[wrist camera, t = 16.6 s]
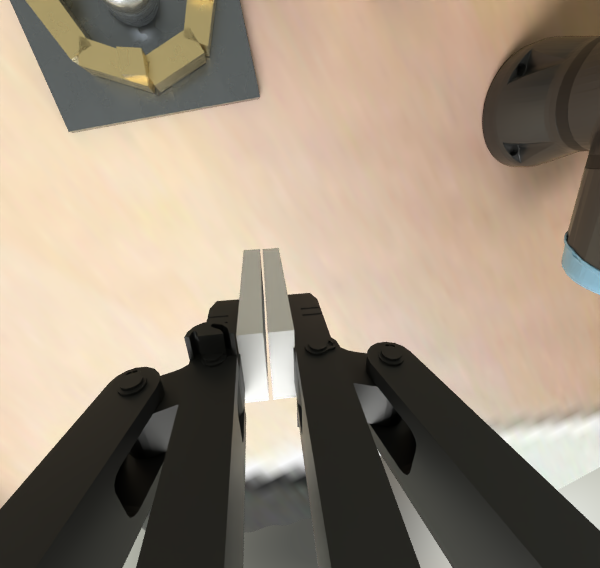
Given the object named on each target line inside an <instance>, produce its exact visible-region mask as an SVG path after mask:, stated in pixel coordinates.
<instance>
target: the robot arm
mask: <svg viewBox="0 0 600 568" xmlns="http://www.w3.org/2000/svg"><path fill="white" fill-rule="evenodd" d="M483 133H484V138H485V142H486V144H487V147H488V149H489V151H490V152H491V154H492V155H493V156H494V157H495V159H497V160H498V161H499V162H501V163H502V164H504V165H507V166H511V167H531V166H537V165H541V164H544V163H547V162H550V161H553V160H555V159H558V158H561V157H564V156H567V155H570V154H573V153H576V152H579V151H589V155H588V159H587V163H586V166H585V169H584V173H583V177H582V180H581V184H580V188H579V192H578V195H577V199H576V203H575V206H574V210H573V214H572V218H571V221H570V225H569V229H568V231H567V232H566V233H565V236H564V243H565V246H564V251H563V256H562V267H563V268H564V270H565V272H566V274H567V275H568V276H569V277H570V278H571V279H572V280H573V281H574V282H576V283H577V284H579V285H580V286H582V287H584V288H586V289H588V290H590V291H592V292H594V293H597V294H599V295H600V36H557V37H550V38H546V39H543V40H541V41H538V42H535V43H533V44H530V45H528V46H526V47H524V48H522V49H520V50H519V51H517V52H516V53H515V54H514V55H512V56H511V57H510V58H509V59H508V60H507V61H506V62H505V64H504V65H503V66H502V67H501V69H500V70H499V72H498V73H497V75H496V76H495V78H494V80H493V82H492V84H491V86H490V89H489V91H488V94H487V97H486V101H485V105H484V111H483ZM263 262H264V278H265V294H266V310H267V326H268V340H269V353H270V365H271V378H272V391H273V400H275V399H283V398H292V397H296V396H297V421H298V427H299V428H300V435H301V443H302V450H303V457H304V465H305V472H306V480H307V487H308V494H309V502H310V509H311V517H312V524H313V531H314V539H315V546H316V554H317V561H318V568H420V565H419V562H418V560H417V557H416V554H415V551H414V549H413V546H412V543H411V541H410V538H409V535H408V532H407V530H406V527H405V524H404V522H403V519H402V516H401V513H400V510H399V508H398V505H397V502H396V500H395V497H394V494H393V492H392V489H391V486H390V483H389V480H388V477H387V475H386V472H385V469H384V466H383V464H382V461H381V458H380V456H379V453H378V451H379V452H380V454H381V456H382V457H383V459H384V460H385V461H386V463H387V465H388V466H389V468H390V470H391V471H392V473H393V474H394V476H395V478H396V479H397V481H398V482H399V484H400V485H401V487H402V489H403V490H404V492H405V493H406V495H407V497H408V498H409V500H410V501H411V503H412V504H413V506H414V508H415V509H416V511H417V512H418V514H419V515H420V517H421V519H422V520H423V521H424V523H425V525H426V526H427V528H428V529H429V531H430V533H431V534H432V536H433V537H434V539H435V540H436V542H437V544H438V545H439V547H440V548H441V550H442V551H443V553H444V555H445V556H446V558H447V559H448V561H449V563H450V564H451V566H452V567H453V568H600V531H599V530H598V529H597V528H596V527H595V526H594V525H593V524H592V523H591V522H590V521H589V520H588V519H587V518H586V517H585V516H583V514H581V513H580V512H579V511H578V510H577V509H576V508H575V507H574V506H573V505H572V504H571V503H570V502H569V501H568V500H567V499H566V498H564V496H562V495H561V494H560V493H559V492H558V491H557V490H556V489H555V488H554V487H553V486H552V485H551V484H550V483H549V482H548V481H547V480H546V479H544V478H543V477H542V476H541V475H540V474H539V473H538V472H537V471H536V470H535V469H534V468H533V467H532V466H531V465H530V464H529V463H528V462H527V461H525V460H524V459H523V458H522V457H521V456H520V455H519V454H518V453H517V452H516V451H515V450H514V449H513V448H512V447H511V446H510V445H509V444H508V443H506V442H505V441H504V440H503V439H502V438H501V437H500V436H499V435H498V434H497V433H496V432H495V431H494V430H493V429H492V428H491V427H490V426H489V425H487V424H486V423H485V422H484V421H483V420H482V419H481V418H480V417H479V416H478V415H477V414H476V413H475V412H474V411H473V410H472V409H471V408H469V407H468V406H467V405H466V404H465V403H464V402H463V401H462V400H461V399H460V398H459V397H458V396H457V395H456V394H455V393H454V392H453V391H452V390H450V389H449V388H448V387H447V386H446V385H445V384H444V383H443V382H442V381H441V380H440V379H439V378H438V377H437V376H436V375H435V374H434V373H433V372H431V371H430V370H429V369H428V368H427V367H426V366H425V365H424V364H423V363H422V362H421V361H420V360H419V359H418V358H417V357H416V356H415V355H413V354H412V353H411V352H410V351H409V350H408V349H406V348H405V347H403V346H401V345H398V344H396V343H390V342H381V343H376V344H374V345H372V346H371V347H370V348H369V350H368V351H367V353H359V352H353V351H348V350H345V349H343V348H341V347H340V346H339V344H338V343H337V341H336V340H334V339H333V338H331V336H330V334H329V331H328V328H327V325H326V322H325V320H324V317H323V314H322V311H321V308H320V306H319V303H318V300H317V299H316V298H315V297H314V296H313V295H312V294H310V293H304V294H292V295H287V290H286V284H285V279H284V274H283V269H282V263H281V258H280V253H279V248H274V249H263ZM184 338H185V342H186V346H187V351H188V355H189V359H190V362H189V365H187V366H185V367H183V368H182V369H179V370H177V371H174V372H171V373H168V374H165V375H162V376H160V374H159V373H158V372H157V371H156V370H155V369H153V368H149V367H139V368H134V369H131V370H128V371H126V372H124V373H122V374H120V375H118V376H117V377H116V378H114V379H113V380H112V381H111V382H110V383H109V384H108V385H107V386H106V387H105V388H104V390H103V391H102V392H101V393H100V394H99V395H98V397H97V398H96V399H95V400H94V401H93V402H92V404H91V405H90V406H89V407H88V408H87V409H86V410H85V412H84V413H83V414H82V415H81V416H80V417H79V419H78V420H77V421H76V422H75V423H74V424H73V426H72V427H71V428H70V429H69V430H68V431H67V433H66V434H65V435H64V436H63V437H62V438H61V439H60V441H59V442H58V443H57V444H56V445H55V446H54V448H53V449H52V450H51V451H50V452H49V453H48V455H47V456H46V457H45V458H44V459H43V460H42V461H41V463H40V464H39V465H38V466H37V467H36V468H35V470H34V471H33V472H32V473H31V474H30V475H29V477H28V478H27V479H26V480H25V481H24V482H23V483H22V485H21V486H20V487H19V488H18V489H17V490H16V492H15V493H14V494H13V495H12V496H11V497H10V499H9V500H8V501H7V502H6V503H5V504H4V505H3V507H2V508H1V509H0V568H122V567H123V565H124V563H125V561H126V559H127V557H128V555H129V553H130V551H131V548H132V546H133V544H134V542H135V540H136V538H137V536H138V534H139V532H140V530H141V527H142V525H143V523H144V521H145V519H146V517H147V515H148V513H149V511H150V509H151V506H152V509H151V512H150V516H149V520H148V524H147V528H146V532H145V536H144V539H143V543H142V547H141V551H140V555H139V559H138V563H137V566H136V568H243V556H244V552H243V551H244V503H245V448H246V413H245V407H244V404H245V402H246V403H249V402H257V401H266V400H269V389H268V370H267V350H266V330H265V311H264V294H263V282H262V270H261V257H260V249H257V250H244V253H243V264H242V275H241V287H240V298H239V300H226V301H217V302H216V303H215V304H214V305H213V306H212V307H211V308H210V310H209V314H208V319H207V322H205V323H202V324H199V325H197V326H195V327H193V328H192V329H191V330H189V331H188V332H187V334H186V335H185V337H184ZM377 449H378V450H377ZM152 504H153V505H152Z"/></svg>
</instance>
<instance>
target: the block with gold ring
mask: <svg viewBox="0 0 600 568" xmlns="http://www.w3.org/2000/svg"><path fill="white" fill-rule="evenodd" d="M216 1H217V0H187V5H186V14H185V24H184V30H183V31H182V32H180V33H179V34H177V35H176V36H174V37H173V38H171V39H170V40H168V41H167V42H165V43H164V44H162V45H161V46H159V47H158V48H156V49H155V50H153V51H152V52H150V53H149V54H147V55H145V52H144V51H143V50H142V48H134V47H116V48H114V47H111V46H108V45H105V44H102V43H99V42H96V41H93V40H92V39H91V38H90V37H89V35H88V34H87V33H86V31H85V30H84V28H83V27H82V26H81V24H80V23H79V21H78V20H77V19H76V17H75V16H74V15H73V13H72V12H71V10H70V9H69V8H68V6H67V5H66V3H65V2H64V1H63V0H26V2H27V3H28V4H29V6H30V7H31V8H32V10H33V11H34V12H35V13H36V15H37V16H38V17H39V19H40V20H41V21H42V23H43V24H44V25H45V26H46V28H47V29H48V30H49V32H50V33H51V34H52V36H53V37H54V38H55V39H56V41H57V42H58V43H59V45H60V46H61V47H62V49H63V50H64V51H65V52H66V54H67V55H68V56H69V58H70V59H71V60H72V61H74V62H75V63H77V64H78V65H79V66H81V67H82V68H83V69H85V70H86V71H88V72H89V73H91V74H92V75H95V76H98V77H102V78H105V79H108V80H112V81H115V82H118V83H122V84H125V85H128V86H131V87H135V88H138V89H141V90H145V91H148V92H151V93H155V86H156V87H157V89H158V90H159V91H160V92H163V91H164V90H166V89H167V88H169V87H170V86H172V85H173V84H175V83H176V82H178V81H179V80H181V79H182V78H184V77H185V76H187V75H188V74H190V73H191V72H193V71H194V70H196V69H197V68H199V67H200V66H202V65H203V64H205V63H206V59H205V55H206V56H209V57H210V49H211V41H212V33H213V25H214V17H215V9H216Z"/></svg>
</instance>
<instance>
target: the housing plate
mask: <svg viewBox="0 0 600 568" xmlns="http://www.w3.org/2000/svg"><path fill="white" fill-rule="evenodd" d="M63 1H64V2H65V3H66V5H67V6H68V8H69V9H70V10H71V12H72V13H73V15H74V16H75V17H76V19H77V20H78V21H79V23H80V24H81V26H82V27H83V28H84V30H85V31H86V33H87V34H88V35H89V37H90V38H91V39H92V40H93V41H96V42H99V43H102V44H105V45H108V46H111V47H114V48H116V47H134V48H142V50H143V51H144V52H145V55H147V54H149V53H150V52H152V51H153V50H155V49H156V48H158V47H159V46H161V45H162V44H164V43H165V42H167V41H168V40H170V39H171V38H173V37H174V36H176V35H177V34H179V33H180V32H182V31H183V30H184V24H185V14H186V5H187V0H63ZM10 2H11V4H12V6H13V8H14V10H15V13H16V15H17V17H18V19H19V22H20V24H21V26H22V28H23V31H24V33H25V35H26V37H27V39H28V42H29V44H30V46H31V48H32V51H33V53H34V55H35V57H36V60H37V62H38V64H39V66H40V68H41V71H42V73H43V75H44V77H45V80H46V82H47V84H48V86H49V89H50V91H51V93H52V95H53V98H54V100H55V102H56V104H57V106H58V109H59V111H60V113H61V115H62V118H63V120H64V122H65V124H66V127H67V129H68V131H69V132H73V133H74V132H80V131H85V130H91V129H96V128H102V127H107V126H113V125H118V124H124V123H129V122H135V121H140V120H146V119H151V118H157V117H162V116H168V115H173V114H179V113H184V112H189V111H195V110H200V109H206V108H211V107H217V106H222V105H228V104H233V103H239V102H244V101H250V100H255V99H259V98H260V95H259V90H258V85H257V81H256V76H255V71H254V66H253V62H252V57H251V52H250V47H249V43H248V38H247V33H246V29H245V24H244V19H243V14H242V10H241V5H240V0H217V1H216V9H215V17H214V25H213V33H212V41H211V49H210V57H209V56H206V55H205V59H206V63H205V64H203V65H202V66H200V67H199V68H197V69H196V70H194V71H193V72H191V73H190V74H188V75H187V76H185V77H184V78H182V79H181V80H179V81H178V82H176V83H175V84H173V85H172V86H170V87H169V88H167V89H166V90H164V91H163V92H160V91H159V90H158V89H157V87H156V86H155V93H151V92H148V91H145V90H141V89H138V88H135V87H131V86H128V85H125V84H122V83H118V82H115V81H112V80H108V79H105V78H102V77H98V76H95V75H92V74H91V73H89V72H88V71H86V70H85V69H83V68H82V67H81V66H79V65H78V64H77V63H75V62H74V61H72V60H71V59H70V58H69V56H68V55H67V54H66V52H65V51H64V50H63V49H62V47H61V46H60V45H59V43H58V42H57V41H56V39H55V38H54V37H53V36H52V34H51V33H50V32H49V30H48V29H47V28H46V26H45V25H44V24H43V23H42V21H41V20H40V19H39V17H38V16H37V15H36V13H35V12H34V11H33V10H32V8H31V7H30V6H29V4H28V3H27V2H26V0H10Z"/></svg>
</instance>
